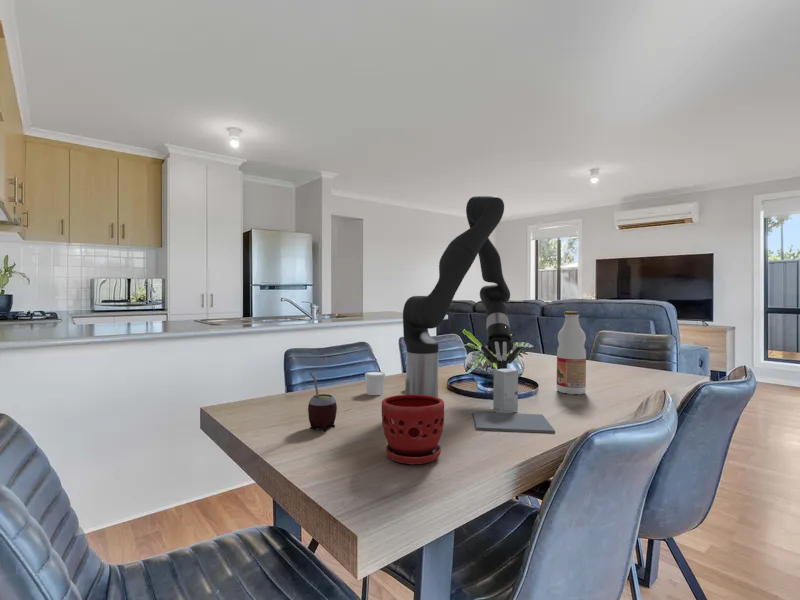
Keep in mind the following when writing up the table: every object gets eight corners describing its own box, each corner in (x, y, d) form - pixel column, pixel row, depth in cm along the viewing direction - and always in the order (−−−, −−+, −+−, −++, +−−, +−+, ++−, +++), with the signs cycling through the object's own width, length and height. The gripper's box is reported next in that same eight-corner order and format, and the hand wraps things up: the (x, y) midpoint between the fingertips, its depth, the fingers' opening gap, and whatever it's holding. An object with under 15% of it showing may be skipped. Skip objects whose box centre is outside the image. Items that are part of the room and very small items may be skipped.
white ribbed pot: (389, 393, 145) (389, 372, 145) (377, 397, 139) (377, 376, 139) (372, 390, 149) (372, 370, 149) (360, 394, 143) (360, 373, 143)
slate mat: (476, 429, 107) (476, 427, 107) (473, 414, 121) (473, 411, 121) (554, 433, 105) (554, 430, 105) (542, 416, 119) (542, 414, 119)
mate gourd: (333, 422, 112) (333, 365, 112) (340, 431, 105) (340, 370, 105) (304, 425, 110) (304, 367, 109) (309, 435, 102) (309, 372, 102)
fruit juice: (580, 396, 142) (581, 312, 142) (552, 392, 148) (553, 311, 148) (589, 391, 149) (590, 311, 149) (562, 387, 155) (563, 310, 155)
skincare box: (503, 415, 120) (504, 372, 120) (492, 411, 124) (492, 369, 124) (518, 411, 124) (519, 369, 123) (507, 408, 127) (507, 367, 127)
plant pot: (456, 455, 90) (456, 398, 90) (416, 475, 80) (416, 411, 80) (409, 440, 99) (409, 389, 99) (368, 456, 89) (368, 399, 89)
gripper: (478, 321, 140) (481, 365, 128) (520, 322, 139) (526, 366, 127) (477, 336, 146) (479, 379, 134) (517, 337, 144) (523, 380, 132)
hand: (502, 372), depth 130 cm, fingers closed
